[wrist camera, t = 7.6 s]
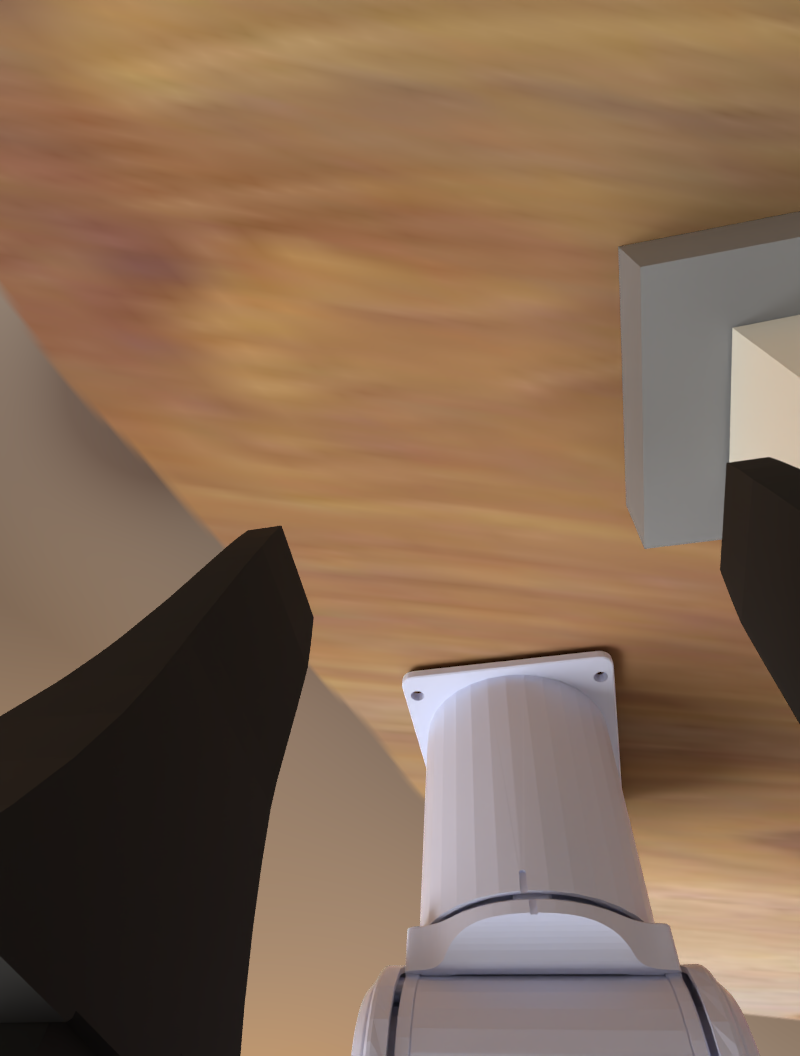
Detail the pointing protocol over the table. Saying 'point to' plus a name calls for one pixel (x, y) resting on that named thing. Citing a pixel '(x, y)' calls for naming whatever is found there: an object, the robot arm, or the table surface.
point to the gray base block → (692, 363)
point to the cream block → (766, 391)
